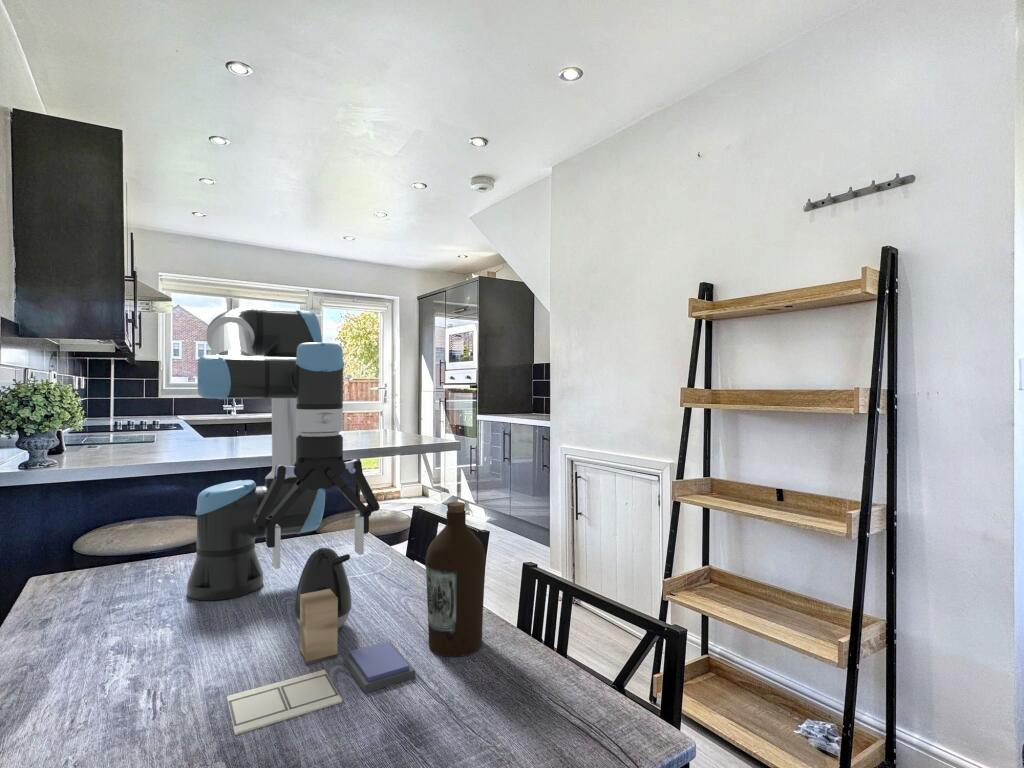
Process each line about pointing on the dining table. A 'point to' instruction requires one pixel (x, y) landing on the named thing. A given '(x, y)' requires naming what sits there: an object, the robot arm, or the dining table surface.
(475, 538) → the olive oil
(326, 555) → the pump dispenser
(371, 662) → the ink pad
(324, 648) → the tall wooden block
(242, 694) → the tag card
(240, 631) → the dining table surface
